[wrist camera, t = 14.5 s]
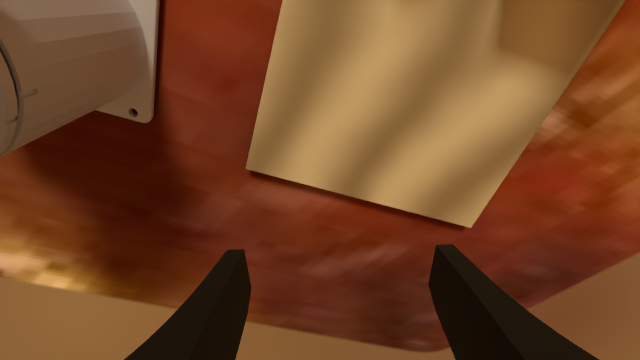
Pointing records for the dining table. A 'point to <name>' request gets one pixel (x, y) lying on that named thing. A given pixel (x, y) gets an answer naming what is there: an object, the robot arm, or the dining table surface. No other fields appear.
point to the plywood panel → (416, 95)
